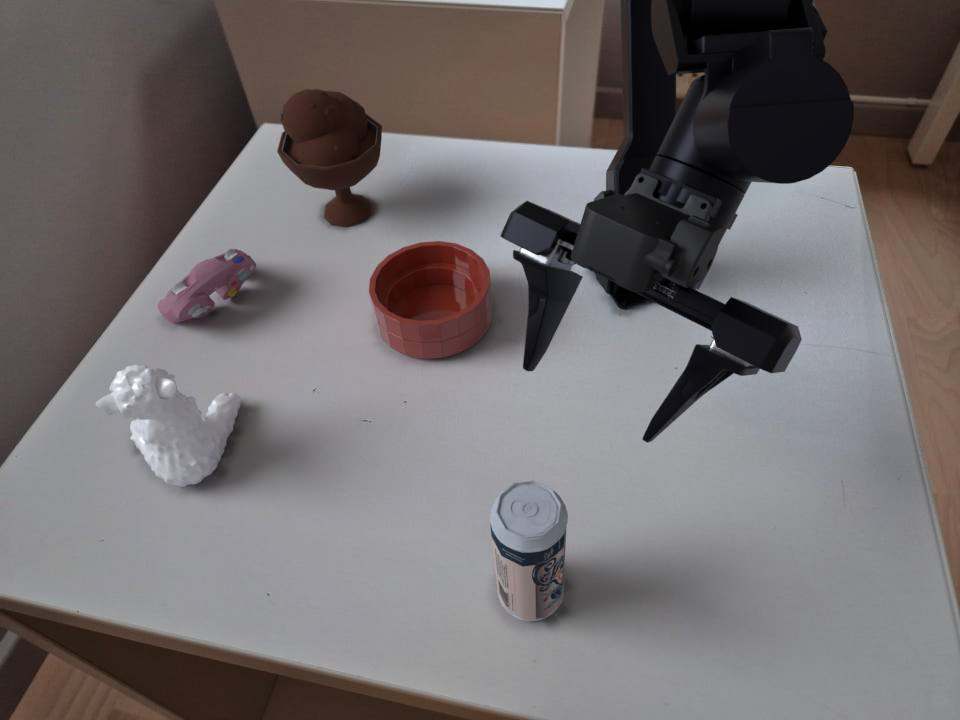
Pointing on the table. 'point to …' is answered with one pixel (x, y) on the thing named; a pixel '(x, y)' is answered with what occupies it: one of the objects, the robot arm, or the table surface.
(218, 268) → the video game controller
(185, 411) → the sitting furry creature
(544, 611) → the beer can
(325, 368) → the table surface
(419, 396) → the table surface
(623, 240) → the robot arm
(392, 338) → the red bowl
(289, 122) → the ice cream bowl
